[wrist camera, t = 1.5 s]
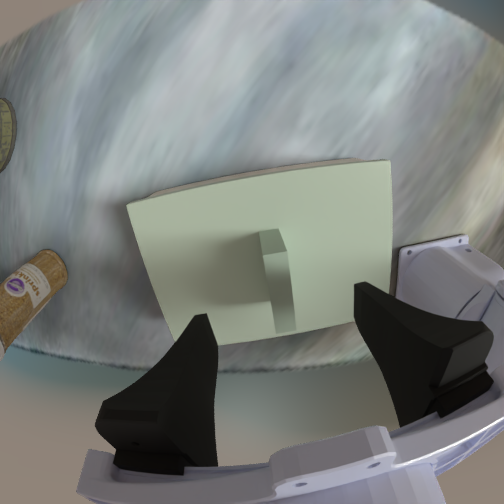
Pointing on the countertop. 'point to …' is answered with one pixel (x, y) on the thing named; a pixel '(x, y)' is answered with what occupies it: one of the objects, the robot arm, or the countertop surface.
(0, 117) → the thermos
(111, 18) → the countertop surface
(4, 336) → the sprinkles bottle
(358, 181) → the lid
